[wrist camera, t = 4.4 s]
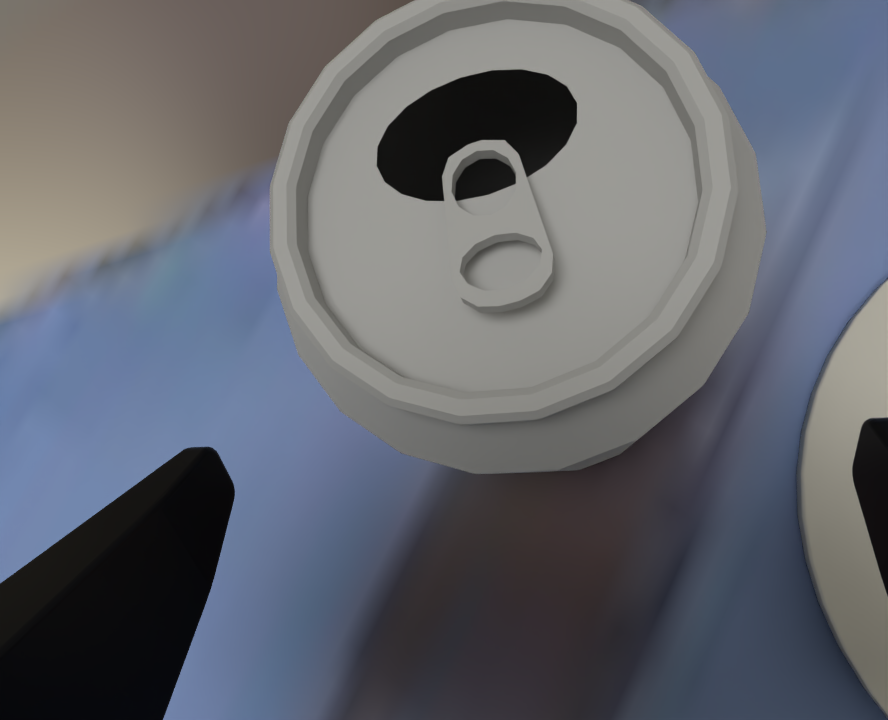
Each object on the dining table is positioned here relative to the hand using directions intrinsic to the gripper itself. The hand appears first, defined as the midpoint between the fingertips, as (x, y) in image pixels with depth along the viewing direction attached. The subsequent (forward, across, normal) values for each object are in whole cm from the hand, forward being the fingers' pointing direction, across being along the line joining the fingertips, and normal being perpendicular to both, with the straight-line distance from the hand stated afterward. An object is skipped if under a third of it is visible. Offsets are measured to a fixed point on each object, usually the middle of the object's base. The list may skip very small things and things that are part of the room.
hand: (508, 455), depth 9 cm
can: (+10, 0, +5) cm, 11 cm away
